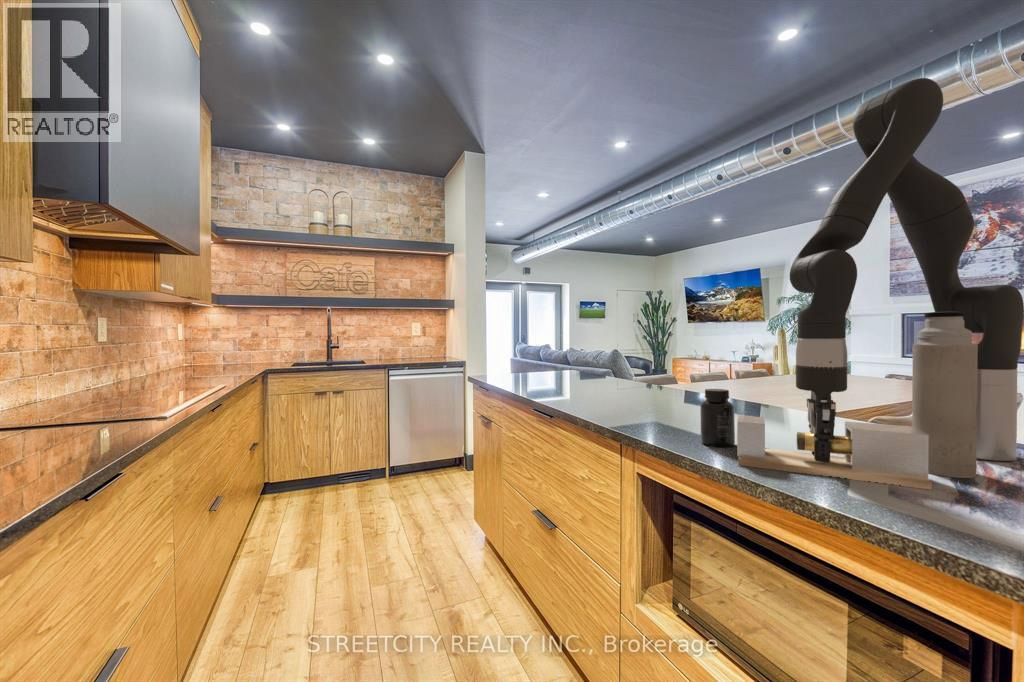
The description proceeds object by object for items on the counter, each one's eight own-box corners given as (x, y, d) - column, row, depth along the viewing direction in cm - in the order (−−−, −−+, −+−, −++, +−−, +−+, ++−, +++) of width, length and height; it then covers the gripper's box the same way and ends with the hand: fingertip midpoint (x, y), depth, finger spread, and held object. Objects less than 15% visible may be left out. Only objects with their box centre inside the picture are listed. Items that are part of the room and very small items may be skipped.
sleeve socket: (738, 447, 86) (738, 413, 86) (914, 466, 73) (914, 426, 73) (737, 456, 81) (737, 419, 80) (928, 478, 67) (928, 435, 67)
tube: (909, 459, 72) (909, 440, 72) (915, 464, 69) (915, 444, 69) (796, 447, 80) (796, 430, 80) (798, 451, 77) (798, 434, 77)
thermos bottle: (951, 464, 78) (952, 312, 78) (990, 479, 70) (992, 310, 70) (900, 462, 80) (901, 313, 79) (933, 476, 72) (935, 311, 71)
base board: (739, 451, 88) (739, 446, 88) (910, 471, 75) (910, 464, 75) (738, 465, 79) (738, 458, 79) (931, 489, 66) (931, 482, 66)
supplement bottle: (736, 442, 95) (736, 388, 95) (733, 449, 90) (733, 392, 89) (702, 438, 99) (702, 387, 99) (698, 445, 93) (698, 390, 93)
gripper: (855, 367, 69) (855, 473, 69) (839, 361, 81) (839, 451, 81) (799, 365, 72) (799, 466, 73) (792, 360, 85) (792, 446, 85)
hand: (820, 458), depth 77 cm, fingers closed on tube, 3 cm apart
